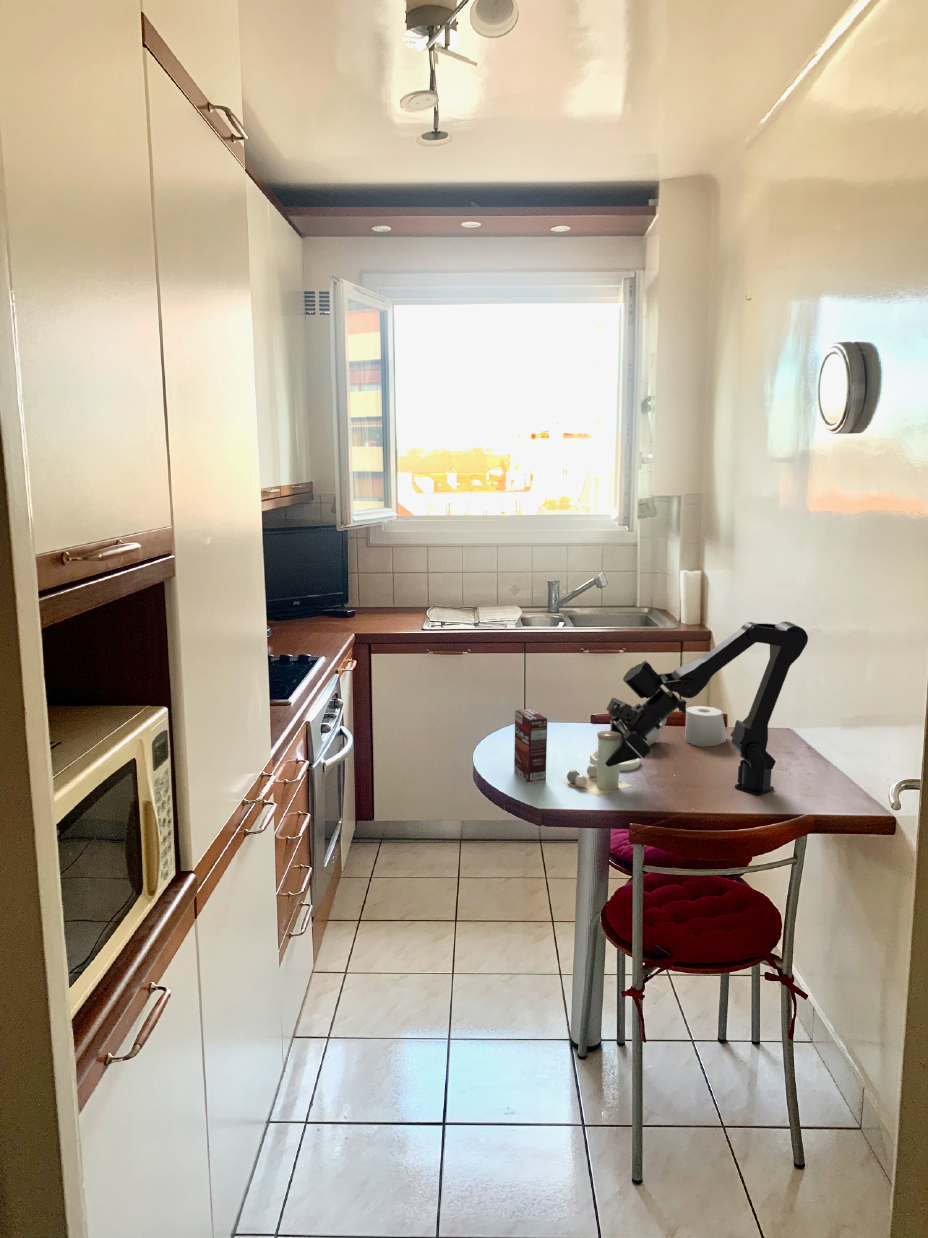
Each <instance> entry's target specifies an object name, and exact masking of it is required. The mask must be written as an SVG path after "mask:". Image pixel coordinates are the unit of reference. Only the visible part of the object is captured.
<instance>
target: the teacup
mask: <svg viewBox="0 0 928 1238" xmlns="http://www.w3.org/2000/svg"><path fill="white" fill-rule="evenodd" d="M667 718H668V717H667ZM667 718H666V719H665V720H663V721H662V722H661V723H660V724H659V725H660V726H661V727H660V728H659V729H657V728H655V729H654V730H653V731H651V732H650V733H649V734H648V735H647V736H646V737H647V740H646V742H647V743H648V744H649V746H651V745H652V744H654V742H656V741H658V739H659V738H660V732H661V729H663V727H664V726H665V725H666V724H667Z"/></svg>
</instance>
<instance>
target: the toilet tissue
mask: <svg viewBox="0 0 928 1238" xmlns="http://www.w3.org/2000/svg"><path fill="white" fill-rule="evenodd" d="M724 720H725V719H724V716H723V711H722V710H721V709H719V708H715V707H712V706H704V705H699V706H698V705H696V706H695V705H694V706H690V707H686V713H685V730H684V741H687V742H688V743H691V744H692V745H691V744H690V745H691V746H693V745H699V746H698V747H700V746H715V747H717V746H716V745H718V744H720V743H722V742H724V741H726V739H727V740H728V737H727V736H728V735H727V731H726V725H725V721H724ZM726 742H727V741H726ZM688 743H687V744H688ZM720 745H721V744H720ZM718 746H719V745H718Z"/></svg>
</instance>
